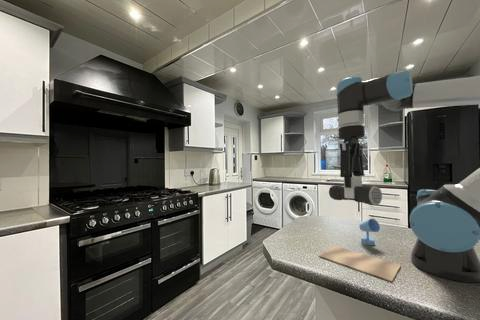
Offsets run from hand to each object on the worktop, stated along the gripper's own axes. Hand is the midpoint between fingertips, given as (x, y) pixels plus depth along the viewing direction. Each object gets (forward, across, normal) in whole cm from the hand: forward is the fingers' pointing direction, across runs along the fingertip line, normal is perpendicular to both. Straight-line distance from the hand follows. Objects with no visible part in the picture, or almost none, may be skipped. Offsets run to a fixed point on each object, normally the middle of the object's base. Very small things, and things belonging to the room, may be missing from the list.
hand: (353, 196), depth 66 cm
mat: (+21, 0, 0) cm, 21 cm away
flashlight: (+2, 0, 0) cm, 2 cm away
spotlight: (+21, -19, -2) cm, 28 cm away
